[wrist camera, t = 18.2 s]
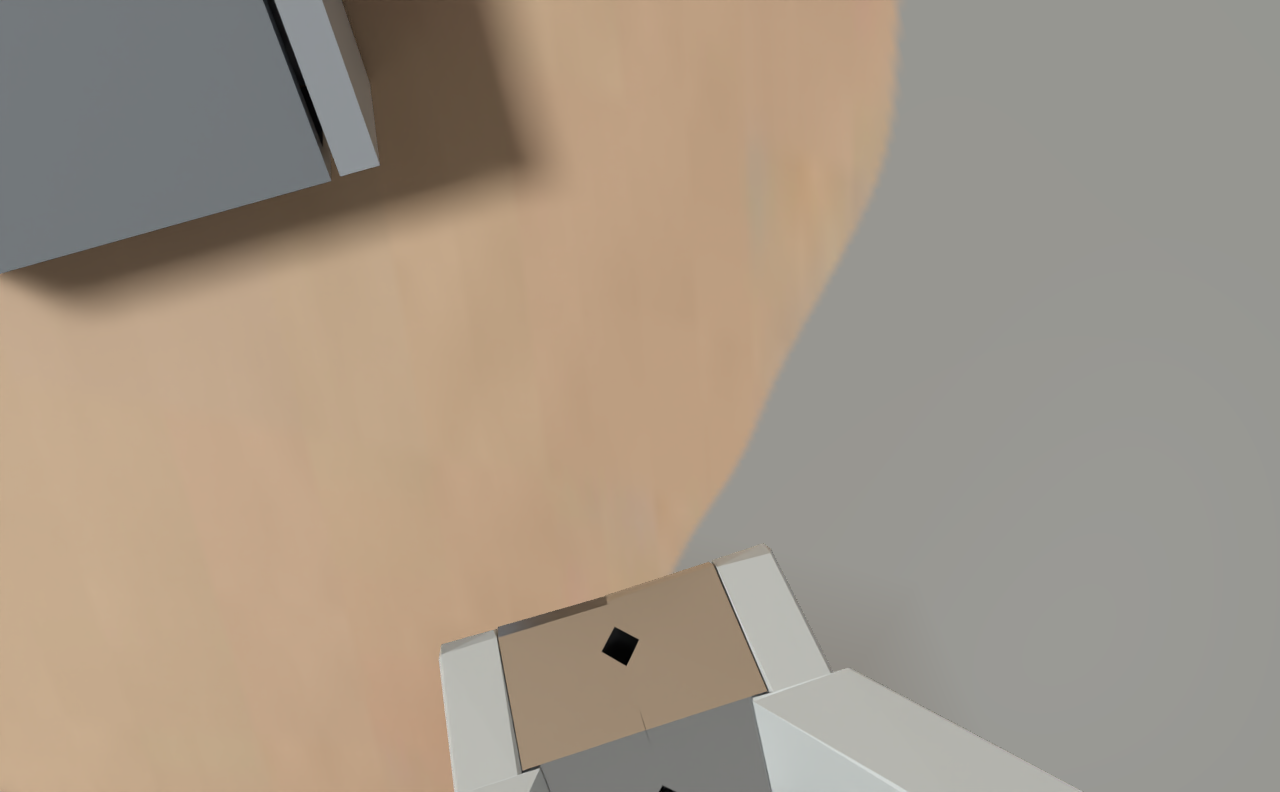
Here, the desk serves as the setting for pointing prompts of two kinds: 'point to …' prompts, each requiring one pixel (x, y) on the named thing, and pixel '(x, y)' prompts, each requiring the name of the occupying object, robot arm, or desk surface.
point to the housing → (143, 119)
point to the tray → (331, 77)
